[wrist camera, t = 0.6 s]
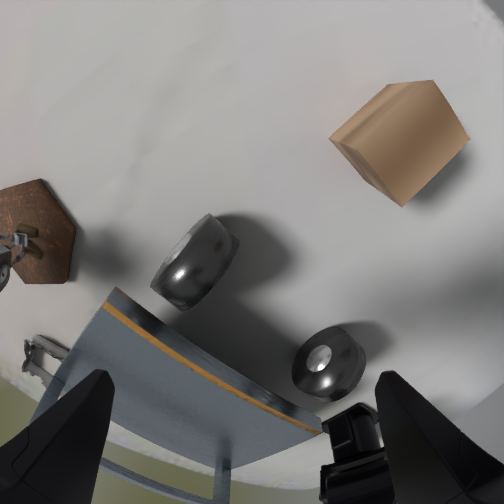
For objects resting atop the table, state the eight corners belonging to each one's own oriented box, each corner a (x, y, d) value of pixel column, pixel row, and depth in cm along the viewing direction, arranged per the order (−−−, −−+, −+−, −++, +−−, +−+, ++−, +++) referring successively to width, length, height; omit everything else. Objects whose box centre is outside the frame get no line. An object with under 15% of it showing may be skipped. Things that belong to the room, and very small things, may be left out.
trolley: (365, 338, 26) (406, 450, 15) (227, 421, 32) (221, 511, 21) (196, 185, 20) (129, 281, 9) (80, 331, 26) (27, 424, 15)
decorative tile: (30, 362, 30) (22, 376, 28) (33, 317, 27) (21, 333, 24) (112, 409, 33) (107, 425, 31) (131, 375, 30) (124, 394, 27)
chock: (420, 128, 18) (469, 139, 12) (364, 180, 20) (401, 207, 14) (387, 84, 17) (433, 80, 11) (328, 138, 19) (357, 149, 13)
